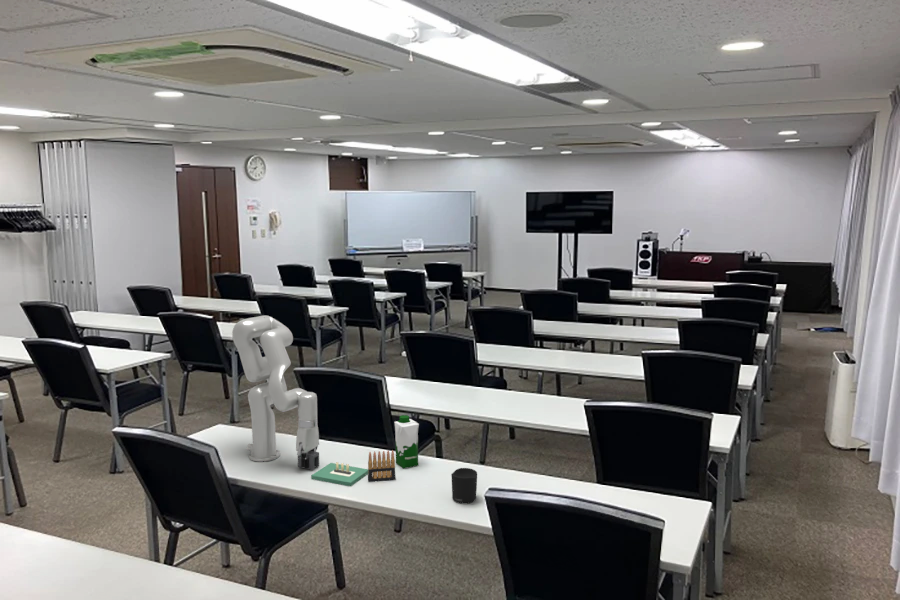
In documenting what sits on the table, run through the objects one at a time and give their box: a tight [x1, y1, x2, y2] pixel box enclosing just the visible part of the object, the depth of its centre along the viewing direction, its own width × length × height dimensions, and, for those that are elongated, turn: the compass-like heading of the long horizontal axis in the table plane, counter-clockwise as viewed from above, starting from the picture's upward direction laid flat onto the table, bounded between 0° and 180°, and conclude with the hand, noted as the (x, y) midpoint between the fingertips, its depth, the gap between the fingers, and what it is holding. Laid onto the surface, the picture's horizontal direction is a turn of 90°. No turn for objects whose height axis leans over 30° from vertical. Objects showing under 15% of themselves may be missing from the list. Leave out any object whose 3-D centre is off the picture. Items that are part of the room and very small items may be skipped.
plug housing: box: [297, 450, 320, 471], centre depth 275 cm, size 8×4×6 cm, turn 67°
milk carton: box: [394, 414, 420, 470], centre depth 277 cm, size 9×9×20 cm
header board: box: [310, 461, 368, 487], centre depth 267 cm, size 18×14×5 cm
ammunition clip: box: [367, 449, 397, 483], centre depth 262 cm, size 11×2×12 cm, turn 101°
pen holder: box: [450, 467, 478, 504], centre depth 246 cm, size 9×9×10 cm
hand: (308, 465), depth 275 cm, fingers closed on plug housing, 4 cm apart
